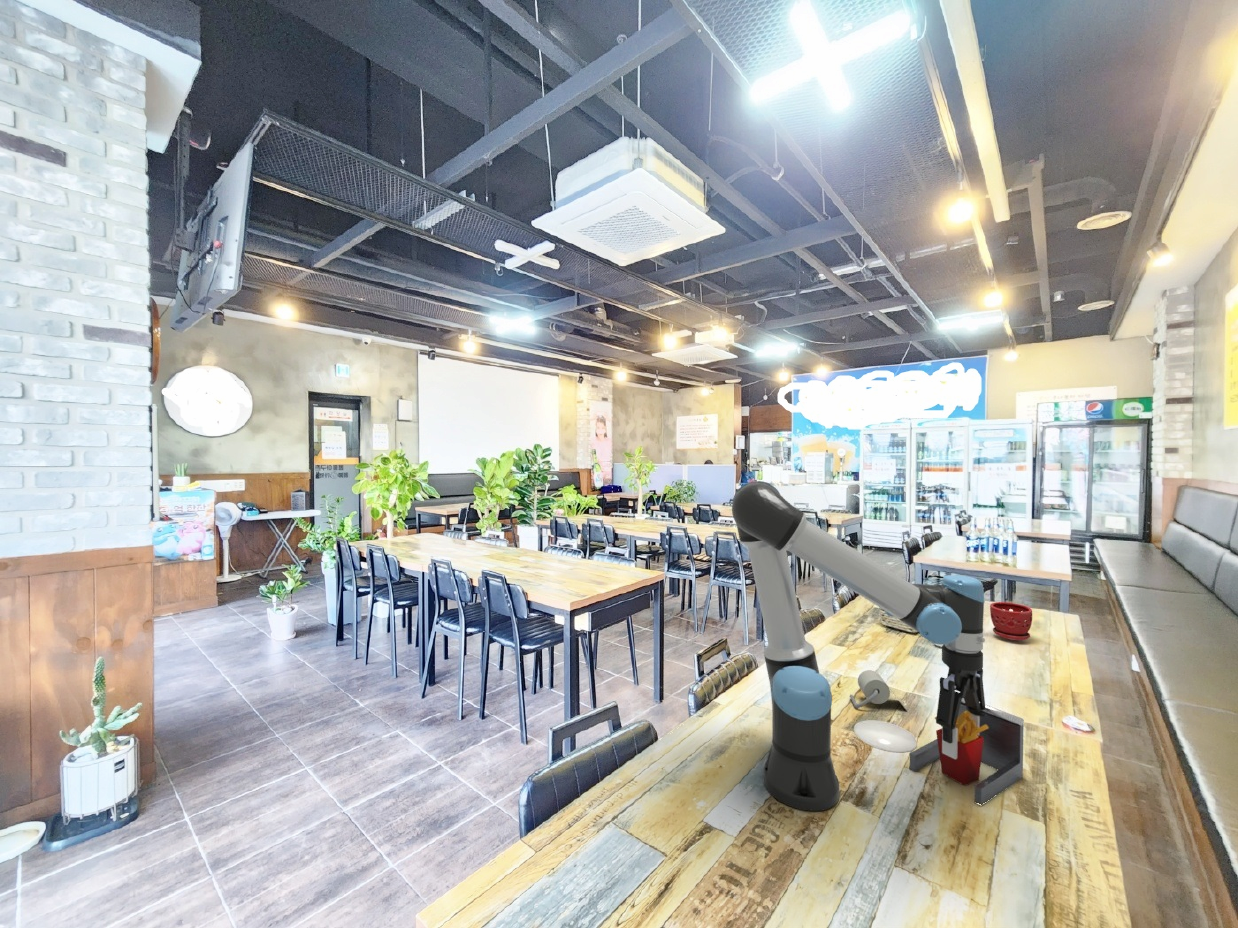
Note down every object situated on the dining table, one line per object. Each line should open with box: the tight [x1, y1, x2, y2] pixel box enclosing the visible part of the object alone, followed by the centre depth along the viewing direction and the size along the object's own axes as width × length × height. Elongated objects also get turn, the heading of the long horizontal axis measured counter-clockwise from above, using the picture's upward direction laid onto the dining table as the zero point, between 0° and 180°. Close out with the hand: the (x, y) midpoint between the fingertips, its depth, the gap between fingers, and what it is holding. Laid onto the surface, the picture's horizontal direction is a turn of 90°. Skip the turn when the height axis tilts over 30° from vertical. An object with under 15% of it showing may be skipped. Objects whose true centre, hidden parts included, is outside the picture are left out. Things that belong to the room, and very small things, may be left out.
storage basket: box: [878, 582, 919, 633], centre depth 215 cm, size 24×16×15 cm
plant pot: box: [989, 601, 1033, 642], centre depth 200 cm, size 13×13×12 cm
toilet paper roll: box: [849, 669, 906, 709], centre depth 146 cm, size 10×11×12 cm
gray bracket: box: [909, 698, 1025, 806], centre depth 114 cm, size 19×14×14 cm
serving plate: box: [853, 719, 918, 754], centre depth 129 cm, size 14×14×1 cm
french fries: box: [934, 711, 989, 786], centre depth 112 cm, size 9×8×15 cm
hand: (960, 748), depth 112 cm, fingers open, 9 cm apart
